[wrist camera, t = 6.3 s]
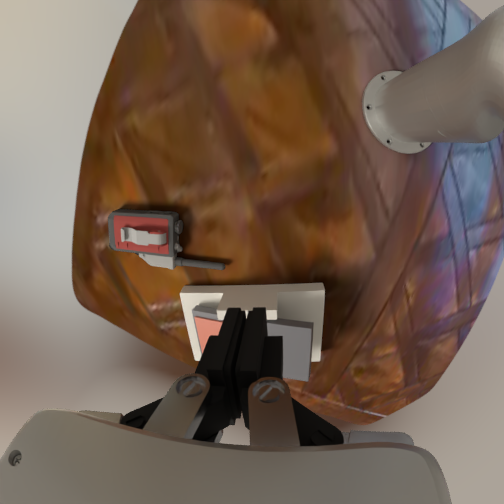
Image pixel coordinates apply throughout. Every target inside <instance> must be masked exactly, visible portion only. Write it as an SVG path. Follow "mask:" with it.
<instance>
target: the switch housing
mask: <svg viewBox="0 0 504 504" xmlns="http://www.w3.org/2000/svg"><path fill="white" fill-rule="evenodd" d="M180 297H181V302H182V306H183V311H184V316H185V320H186V325H187V329H188V333H189V337H190V342H191V346H192V350H193V354H194V358H195V360H196V361H200V358H201V356H202V355H201V351H200V347H199V342H198V338H197V333H196V329H195V324H194V319H193V314H192V309H193V308H194V307H195V306H196V305H198V306H204V307H209V308H215V309H217V317H218V320H224V317H225V314H226V311H227V309H228V308H241V311H245V312H246V319H247V315H248V311H252V310H253V307H266V315H267V320H277V318H281V319H289V320H297V321H305V322H314V326H313V343H312V358H311V362H312V361H320V354H321V343H322V330H323V316H324V300H325V289H324V285H323V283H302V284H272V285H223V286H184V287H183V289H182V290H181V292H180Z"/></svg>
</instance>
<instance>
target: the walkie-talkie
mask: <svg viewBox="0 0 504 504" xmlns="http://www.w3.org/2000/svg"><path fill="white" fill-rule="evenodd" d="M108 226H109V239H110V245H109V246H110V248H111V249H113V250H115V251H116V250H117V251H123V252H124V251H125V252H131V253H132V252H133V253H136V254H137V255H139V257H141V258H143V259H144V260H145V261H146V262H147V263H148V264H149V265H151V266H158V267H165V268H169V269H174V268H175V267H176V266H177V265H178V266H183V265H185V266H193V267H201V268H210V269H218V270H223V269H225V264H223V263H217V262H208V261H199V260H191V259H184V258H181V257H177V252H181V251H182V246H180V245H179V234H181V233H182V230H183V222H182V220H179V214H178V213H177V212H170V211H166V212H164V211H155V210H154V211H148V210H147V211H145V210H144V211H143V210H131V209H130V210H128V209H126V210H125V209H118V210H115V211H113V212H112V213H111V214H110V215H109V217H108Z"/></svg>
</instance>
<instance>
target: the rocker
mask: <svg viewBox="0 0 504 504" xmlns="http://www.w3.org/2000/svg"><path fill="white" fill-rule="evenodd" d="M192 314H193V319H194V324H195V329H196V333H197V338H198V342H199V347H200V351H201V355H202V353H203V351H204V348H205V346H206V343H207V341H208V338H209V336H210V335H218V334H219V331H220V328H221V325H222V323H223V320H218V317H217V309H215V308H209V307H204V306H198V305H196V306H195V307H194V308H193V309H192ZM313 326H314V322H305V321H297V320H289V319H281V318H277V320H267V330H268V336H283V377H284V378H290V379H296V380H302V381H308V380H309V377H310V371H311V358H312V343H313Z"/></svg>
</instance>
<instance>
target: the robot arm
mask: <svg viewBox="0 0 504 504" xmlns="http://www.w3.org/2000/svg"><path fill="white" fill-rule="evenodd" d="M381 78H383V80H382V79H381ZM367 106H368V107H369V110H368V109H367ZM362 110H363V115H364V118H365V121H366V123H367V126H368V128H369V129H370V131H371V133H372V134H373V135H374V136H375V138H376V139H377V140H378V141H379V142H381V143H382V144H383V145H384V146H386V147H387V148H389V149H391V150H393V151H396V152H399V153H408V154H411V153H417V152H420V151H423V150H424V149H426V148H427V147H428V146H429V145H430V144H431V143H432V142H450V143H485V142H488V141H491V140H493V139H494V138H496V137H497V136H498V135H499V134H500V133H501V132H502V131H503V129H504V6H501V7H500V8H498V9H496V10H495V11H494V12H492V13H491V14H489V15H488V16H487V17H486V18H485V19H484V20H483V21H482V22H481V23H479V24H478V25H477V26H476V27H475V28H474V29H473V30H472V31H470V32H469V33H468V34H467V35H466V36H464V37H463V38H462V39H460V40H459V41H457V42H455V43H454V44H452V45H450V46H449V47H447V48H445V49H444V50H442V51H440V52H438V53H436V54H434V55H433V56H431V57H429V58H427V59H425V60H424V61H422V62H420V63H418V64H416V65H415V66H413V67H411V68H410V69H408V70H406V71H404V72H401V71H385V72H383V73H380V74H378V75H377V76H375V77H374V78H373V79H372V80H371V81H370V82H369V83H368V85H367V86H366V88H365V90H364V93H363V98H362ZM387 140H388V141H389V143H387ZM420 144H421V146H420ZM241 412H242V413H243V418H244V422H245V427H246V428H248V429H249V430H250V446H247V445H233V444H222V443H219V442H220V440H221V438H222V435H223V429H224V428H226V427H228V426H229V425H235V420H236V418H240V417H241ZM0 504H452V503H451V499H450V494H449V491H448V487H447V483H446V481H445V478H444V475H443V472H442V470H441V468H440V466H439V464H438V462H437V460H436V459H435V457H434V456H433V455H432V454H431V453H430V452H429V451H427V450H425V449H423V448H420V447H417V446H414V442H413V440H412V438H411V437H410V436H409V435H407V434H405V433H402V432H373V431H372V432H371V431H355V430H351V431H350V433H349V432H341V431H340V430H339V429H337V428H336V427H335V426H333V425H332V424H330V423H328V422H327V421H325V420H324V419H322V418H321V417H319V416H318V415H316V414H315V413H313V412H312V411H310V410H309V409H307V408H306V407H305V406H303V405H302V404H300V403H299V402H297V401H296V400H294V399H293V398H292V397H291V394H290V389H289V387H288V384H287V383H286V382H285V381H283V336H268V330H267V315H266V307H253V310H252V311H248V315H247V319H246V312H245V311H241V308H228V309H227V311H226V314H225V317H224V320H223V323H222V325H221V328H220V331H219V334H218V335H210V336H209V338H208V341H207V343H206V346H205V348H204V351H203V353H202V356H201V358H200V361H199V364H198V366H197V369H196V371H195V373H192V374H186V375H183V376H181V377H179V378H178V379H177V380H176V381H175V382H174V383H173V385H172V386H171V388H170V389H169V391H168V392H167V394H166V395H165V397H163V398H161V399H159V400H157V401H155V402H152V403H150V404H148V405H145V406H143V407H141V408H139V409H136V410H134V411H131V412H129V413H128V414H126V415H125V416H123V415H122V414H121V413H109V412H97V411H87V410H85V411H79V412H78V411H73V410H67V409H44V410H41V411H38V412H37V413H35V414H34V415H33V416H32V417H31V418H30V419H29V420H28V421H27V422H26V423H25V424H24V426H23V427H22V428H21V429H20V431H19V432H18V433H17V435H16V437H15V438H14V439H13V441H12V442H11V444H10V445H9V447H8V448H7V450H6V451H5V453H4V455H3V456H2V458H1V460H0Z"/></svg>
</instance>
